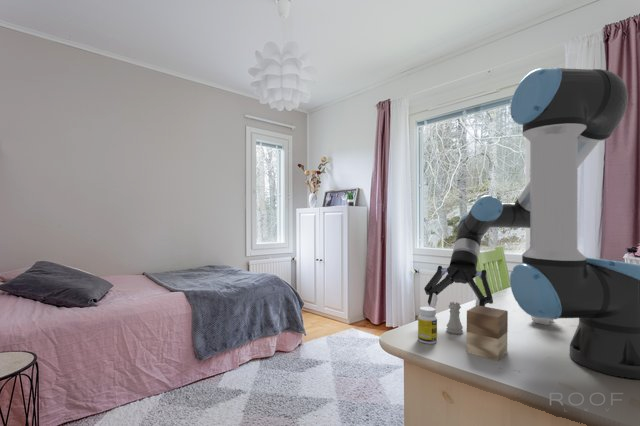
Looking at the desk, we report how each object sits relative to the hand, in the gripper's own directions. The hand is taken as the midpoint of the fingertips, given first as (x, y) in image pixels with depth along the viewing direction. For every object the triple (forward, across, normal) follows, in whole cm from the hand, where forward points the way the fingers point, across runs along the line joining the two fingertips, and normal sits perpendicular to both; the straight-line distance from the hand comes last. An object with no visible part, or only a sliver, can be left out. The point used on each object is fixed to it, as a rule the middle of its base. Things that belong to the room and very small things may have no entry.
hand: (452, 319), depth 94 cm
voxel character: (-16, -20, -22) cm, 33 cm away
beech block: (+8, -10, +2) cm, 13 cm away
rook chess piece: (+1, 0, -5) cm, 5 cm away
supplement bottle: (+9, +4, +3) cm, 10 cm away
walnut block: (+5, -10, +6) cm, 12 cm away
